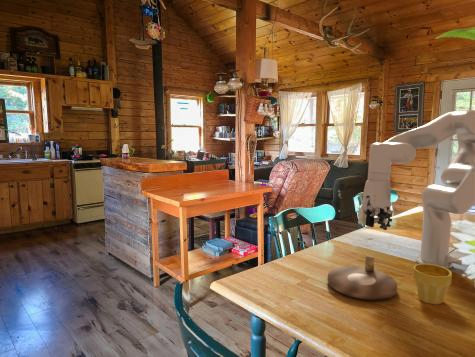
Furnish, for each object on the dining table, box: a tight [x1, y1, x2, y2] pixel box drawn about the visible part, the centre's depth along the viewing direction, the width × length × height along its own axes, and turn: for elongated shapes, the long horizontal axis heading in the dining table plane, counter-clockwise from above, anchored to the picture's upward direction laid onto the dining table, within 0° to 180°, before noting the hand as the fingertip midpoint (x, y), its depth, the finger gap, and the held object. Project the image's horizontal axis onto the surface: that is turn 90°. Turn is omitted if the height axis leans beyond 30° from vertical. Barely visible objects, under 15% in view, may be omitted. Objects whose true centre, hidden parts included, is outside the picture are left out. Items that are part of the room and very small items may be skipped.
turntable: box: [327, 254, 398, 301], centre depth 112 cm, size 22×22×7 cm
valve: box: [357, 205, 393, 231], centre depth 124 cm, size 7×7×12 cm
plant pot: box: [412, 263, 453, 305], centre depth 104 cm, size 10×10×10 cm
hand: (375, 224), depth 124 cm, fingers closed on valve, 5 cm apart
